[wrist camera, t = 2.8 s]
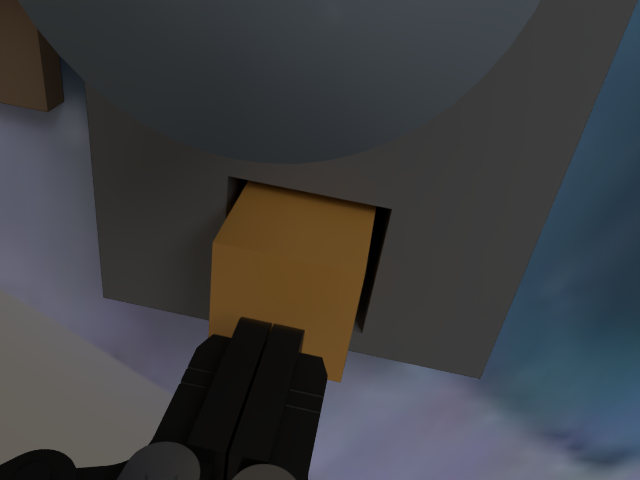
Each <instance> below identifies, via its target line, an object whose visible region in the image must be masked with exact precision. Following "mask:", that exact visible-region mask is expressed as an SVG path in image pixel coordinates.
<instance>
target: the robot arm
mask: <svg viewBox="0 0 640 480" xmlns="http://www.w3.org/2000/svg"><path fill="white" fill-rule="evenodd" d="M304 334H305V330H303V329H298V328H294V327H289V326H285V325H280V324H275V323H274V325H273V327H272V323H270V322H265V321H260V320H256V319H251V318H247V317H240V319H239V321H238V323H237V326H236V328H235V330H234V333H233V335H232V337H231V338H230V337H226V336H221V335H217V334H213V335H211V336H210V337H209V338H208V339H207V340H205V341H204V342H203V343H202V344H201V345H199V346H198V347H197V349H196V351H195V353H194V355H193V357H192V359H191V361H190V363H189V365H188V369H186V371H185V373H184V375H183V377H182V379H181V383H180V384H179V386H178V388H177V390H176V392H175V394H174V396H173V398H172V400H171V402H170V404H169V406H168V408H167V410H166V412H165V415H164V417H163V419H162V421H161V423H160V425H159V427H158V429H157V431H156V433H155V435H154V437H153V439H152V441H151V442H150V443H149V445H148V446H145V447H144V448H142V449H140V450H139V451H137V452H136V453H135V454H134V455H133V456H132V457H131V458H130V459H129V460H127V461H125V462H122V463H119V464H115V465H109V466H98V467H87V468H76V467H75V465H74V463H73V461H72V460H71V459H70V458H69V457H68V456H67V455H65V454H64V453H61V452H59V451H55V450H49V449H40V450H34V451H30V452H27V453H24V454H22V455H20V456H17V457H15V458H13V459H12V460H9V461H7V462H5V463H3V464H1V465H0V480H308V472H309V467H310V462H311V457H312V452H313V447H314V442H315V437H316V433H317V428H318V423H319V418H320V413H321V408H322V403H323V398H324V393H325V388H326V383H327V378H328V375H327V371H326V368H325V365H324V361H323V358H322V357H319V356H314V355H310V354H305V353H301V352H302V346H303V340H304Z"/></svg>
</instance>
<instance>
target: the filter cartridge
mask: <svg viewBox="0 0 640 480" xmlns="http://www.w3.org/2000/svg"><path fill="white" fill-rule="evenodd" d="M18 1H19V3H20V4H21V6H22V7H23V9H24V10H25V12H26V13H27V15H28V16H29V18H30V19H31V21H32V22H33V24H34V25H35V26H36V28H37V29H38V30H39V31H40V33H41V34H42V35H43V36H44V37H45V39H46V40H47V41H48V42H49V44H50V45H51V46H52V47H53V48H54V50H55V51H56V52H57V53H58V55H59V56H60V57H61V58H62V59H63V60H64V61H65V62H66V63H67V64H68V65H69V66H70V67H71V68H72V69H73V70H74V71H75V72H76V73H77V74H78V75H79V76H80V77H81V78H82V79H83V80H84V81H85V82H86V83H88V84H89V85H90V86H91V87H93V88H94V89H95V90H96V91H97V92H99V93H100V94H101V95H102V96H103V97H105V98H106V99H107V100H108V101H110V102H111V103H112V104H113V105H115V106H116V107H118V108H119V109H121V110H122V111H124V112H125V113H127V114H128V115H130V116H131V117H133V118H134V119H136V120H137V121H139V122H140V123H142V124H144V125H146V126H148V127H149V128H151V129H153V130H155V131H157V132H159V133H161V134H163V135H165V136H167V137H169V138H171V139H173V140H175V141H178V142H181V143H183V144H186V145H188V146H191V147H193V148H196V149H199V150H201V151H205V152H208V153H212V154H216V155H220V156H224V157H228V158H231V159H237V160H244V161H251V162H259V163H272V164H301V163H310V162H319V161H329V160H333V159H337V158H341V157H346V156H350V155H354V154H358V153H362V152H365V151H367V150H370V149H373V148H375V147H378V146H381V145H383V144H386V143H389V142H391V141H394V140H395V139H397V138H399V137H401V136H403V135H405V134H407V133H409V132H411V131H413V130H415V129H416V128H418V127H420V126H422V125H424V124H425V123H427V122H428V121H430V120H431V119H433V118H434V117H435V116H437V115H438V114H440V113H441V112H443V111H444V110H446V109H447V108H448V107H450V106H451V105H453V104H454V103H455V102H456V101H457V100H459V99H460V98H461V97H462V96H463V95H464V94H465V93H466V92H468V91H469V90H470V89H471V88H472V87H473V86H474V85H475V84H477V83H478V82H479V81H480V80H481V79H482V78H483V77H484V76H485V75H486V74H487V72H488V71H489V70H490V69H491V68H492V67H493V66H494V65H495V63H496V62H497V61H498V60H499V59H500V58H501V57H502V56H503V54H504V53H505V52H506V51H507V50H508V49H509V48H510V46H511V45H512V43H513V42H514V40H515V39H516V38H517V36H518V35H519V33H520V32H521V30H522V29H523V27H524V26H525V25H526V23H527V22H528V20H529V19H530V17H531V16H532V15H533V13H534V12H535V10H536V8H537V6H538V4H539V2H540V0H18Z"/></svg>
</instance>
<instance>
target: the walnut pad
mask: <svg viewBox="0 0 640 480" xmlns="http://www.w3.org/2000/svg"><path fill="white" fill-rule="evenodd" d="M63 102H64V97H63V88H62V79H61V70H60V60H59V55H58V53H57V52H56V51H55V50H54V48H53V47H52V46H51V45H50V44H49V42H48V41H47V40H46V39H45V37H44V36H43V35H42V34H41V33H40V31H39V30H38V29H37V28H36V26H35V25H34V24H33V22H32V21H31V19H30V18H29V16H28V15H27V13H26V12H25V10H24V9H23V7H22V6H21V4H20V3H19V1H18V0H0V103H4V104H9V105H14V106H19V107H24V108H29V109H34V110H39V111H44V112H49V111H50V110H52V109H53V108H55V107H56V106H58V105H59V104H61V103H63Z"/></svg>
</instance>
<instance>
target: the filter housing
mask: <svg viewBox="0 0 640 480" xmlns="http://www.w3.org/2000/svg"><path fill="white" fill-rule="evenodd" d="M636 3H637V0H540V2H539V4H538V6H537V8H536V10H535V12H534V13H533V15H532V16H531V17H530V19H529V20H528V22H527V23H526V25H525V26H524V27H523V29H522V30H521V32H520V33H519V35H518V36H517V38H516V39H515V40H514V42H513V43H512V45H511V46H510V48H509V49H508V50H507V51H506V52H505V53H504V54H503V56H502V57H501V58H500V59H499V60H498V61H497V62H496V63H495V65H494V66H493V67H492V68H491V69H490V70H489V71H488V72H487V74H486V75H485V76H484V77H483V78H482V79H481V80H480V81H479V82H478V83H477V84H475V85H474V86H473V87H472V88H471V89H470V90H469V91H468V92H466V93H465V94H464V95H463V96H462V97H461V98H460V99H459V100H457V101H456V102H455V103H454V104H453V105H451V106H450V107H448V108H447V109H446V110H444V111H443V112H441V113H440V114H438V115H437V116H435V117H434V118H433V119H431V120H430V121H428V122H427V123H425V124H424V125H422V126H420V127H418V128H416V129H415V130H413V131H411V132H409V133H407V134H405V135H403V136H401V137H399V138H397V139H395V140H394V141H391V142H389V143H386V144H383V145H381V146H378V147H375V148H373V149H370V150H367V151H365V152H362V153H358V154H354V155H350V156H346V157H341V158H337V159H333V160H329V161H319V162H310V163H301V164H272V163H259V162H251V161H244V160H237V159H231V158H228V157H224V156H220V155H216V154H212V153H208V152H205V151H201V150H199V149H196V148H193V147H191V146H188V145H186V144H183V143H181V142H178V141H175V140H173V139H171V138H169V137H167V136H165V135H163V134H161V133H159V132H157V131H155V130H153V129H151V128H149V127H148V126H146V125H144V124H142V123H140V122H139V121H137V120H136V119H134V118H133V117H131V116H130V115H128V114H127V113H125V112H124V111H122V110H121V109H119V108H118V107H116V106H115V105H113V104H112V103H111V102H110V101H108V100H107V99H106V98H105V97H103V96H102V95H101V94H100V93H99V92H97V91H96V90H95V89H94V88H93V87H91V86H90V85H89V84H88V83H86V82H85V93H86V104H87V115H88V127H89V138H90V150H91V161H92V173H93V184H94V195H95V207H96V218H97V230H98V241H99V252H100V264H101V275H102V287H103V297H104V298H108V299H113V300H118V301H122V302H127V303H131V304H136V305H141V306H145V307H150V308H155V309H159V310H164V311H168V312H173V313H178V314H182V315H187V316H192V317H196V318H201V319H205V320H209V316H210V293H211V270H212V247H213V241H214V239H215V238H216V236H217V234H218V232H219V231H220V229H221V227H222V225H223V224H224V222H225V220H226V219H227V217H228V215H229V213H230V212H231V210H232V208H233V206H234V205H235V203H236V201H237V199H238V198H239V196H240V194H241V193H242V191H243V189H244V187H245V186H246V184H247V182H248V180H250V181H255V182H260V183H265V184H270V185H275V186H280V187H285V188H290V189H295V190H300V191H305V192H310V193H315V194H320V195H325V196H330V197H334V198H339V199H344V200H349V201H354V202H359V203H364V204H369V205H374V206H379V207H384V208H385V211H384V216H383V220H382V224H381V228H380V233H379V237H378V241H377V246H376V250H375V254H374V259H371V258H368V260H367V266H366V272H365V277H364V281H363V286H362V290H361V295H360V299H359V303H358V308H357V312H356V317H355V321H354V325H353V330H352V334H351V339H350V343H349V348H348V350H349V351H353V352H358V353H363V354H367V355H372V356H376V357H381V358H386V359H390V360H395V361H400V362H404V363H409V364H413V365H418V366H423V367H427V368H432V369H436V370H441V371H446V372H450V373H455V374H460V375H464V376H469V377H473V378H478V379H480V378H481V376H482V373H483V371H484V368H485V366H486V364H487V361H488V359H489V356H490V354H491V352H492V349H493V347H494V344H495V342H496V340H497V337H498V335H499V332H500V330H501V327H502V325H503V323H504V320H505V318H506V315H507V313H508V311H509V308H510V306H511V303H512V301H513V299H514V296H515V294H516V291H517V289H518V287H519V284H520V282H521V279H522V277H523V275H524V272H525V270H526V267H527V265H528V263H529V260H530V258H531V255H532V253H533V251H534V248H535V246H536V243H537V241H538V239H539V236H540V234H541V231H542V229H543V227H544V224H545V222H546V219H547V217H548V214H549V212H550V210H551V207H552V205H553V202H554V200H555V198H556V195H557V193H558V190H559V188H560V186H561V183H562V181H563V178H564V176H565V174H566V171H567V169H568V166H569V164H570V162H571V159H572V157H573V154H574V152H575V150H576V147H577V145H578V142H579V140H580V138H581V135H582V133H583V130H584V128H585V126H586V123H587V121H588V118H589V116H590V113H591V111H592V109H593V106H594V104H595V101H596V99H597V97H598V94H599V92H600V89H601V87H602V85H603V82H604V80H605V77H606V75H607V73H608V70H609V68H610V65H611V63H612V61H613V58H614V56H615V53H616V51H617V49H618V46H619V44H620V41H621V39H622V37H623V34H624V32H625V29H626V27H627V25H628V22H629V20H630V17H631V15H632V12H633V10H634V8H635V5H636Z"/></svg>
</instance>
